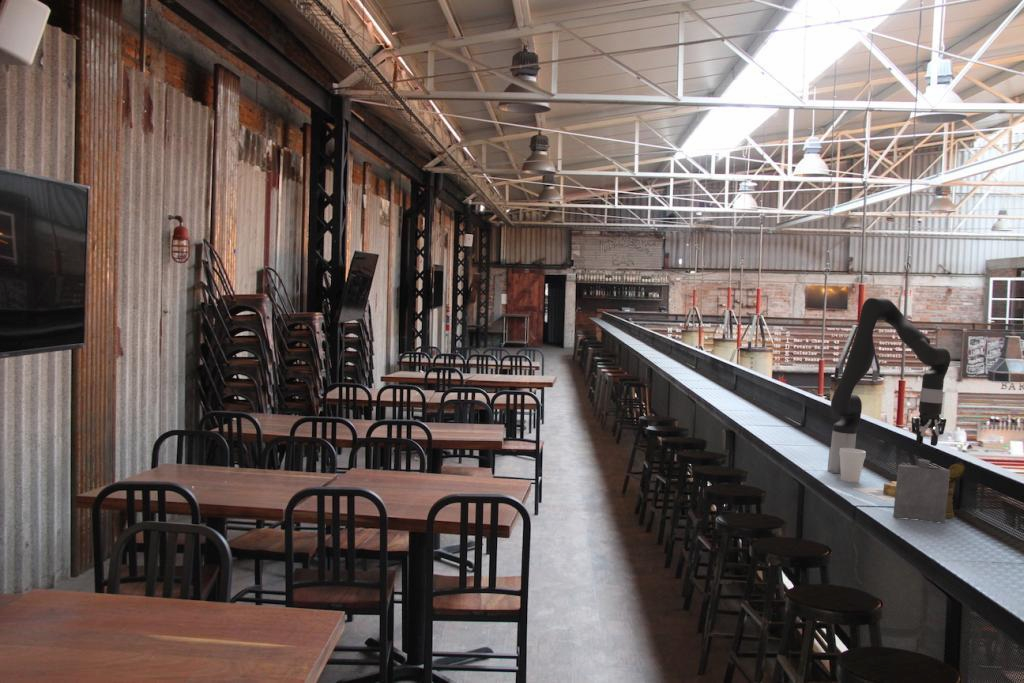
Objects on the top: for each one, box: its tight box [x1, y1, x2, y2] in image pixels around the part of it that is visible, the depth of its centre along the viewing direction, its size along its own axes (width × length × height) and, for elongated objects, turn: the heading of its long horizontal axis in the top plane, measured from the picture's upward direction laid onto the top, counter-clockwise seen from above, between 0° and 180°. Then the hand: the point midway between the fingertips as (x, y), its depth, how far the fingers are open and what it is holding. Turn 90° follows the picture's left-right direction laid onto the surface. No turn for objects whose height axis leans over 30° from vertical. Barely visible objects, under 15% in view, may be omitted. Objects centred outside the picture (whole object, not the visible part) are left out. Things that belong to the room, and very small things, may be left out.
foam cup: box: [839, 448, 867, 483], centre depth 313 cm, size 10×9×13 cm
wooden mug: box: [945, 462, 966, 519], centre depth 272 cm, size 9×14×18 cm, turn 114°
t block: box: [883, 480, 897, 496], centre depth 294 cm, size 10×9×4 cm
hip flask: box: [892, 458, 950, 524], centre depth 263 cm, size 16×4×20 cm, turn 80°
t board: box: [851, 487, 895, 502], centre depth 293 cm, size 18×18×1 cm
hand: (926, 445), depth 296 cm, fingers open, 5 cm apart
